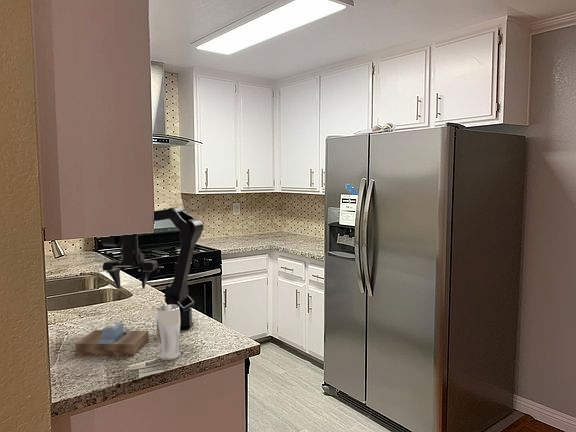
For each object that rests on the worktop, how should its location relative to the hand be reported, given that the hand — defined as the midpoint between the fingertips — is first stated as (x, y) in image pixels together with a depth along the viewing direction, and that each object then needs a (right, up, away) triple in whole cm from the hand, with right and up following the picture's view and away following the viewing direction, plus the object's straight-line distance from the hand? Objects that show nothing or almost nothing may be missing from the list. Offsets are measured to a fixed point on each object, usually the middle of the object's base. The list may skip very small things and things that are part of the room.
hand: (131, 288), depth 160 cm
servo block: (+3, -15, -23) cm, 27 cm away
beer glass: (+22, -16, -30) cm, 41 cm away
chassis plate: (+3, -15, -23) cm, 27 cm away
